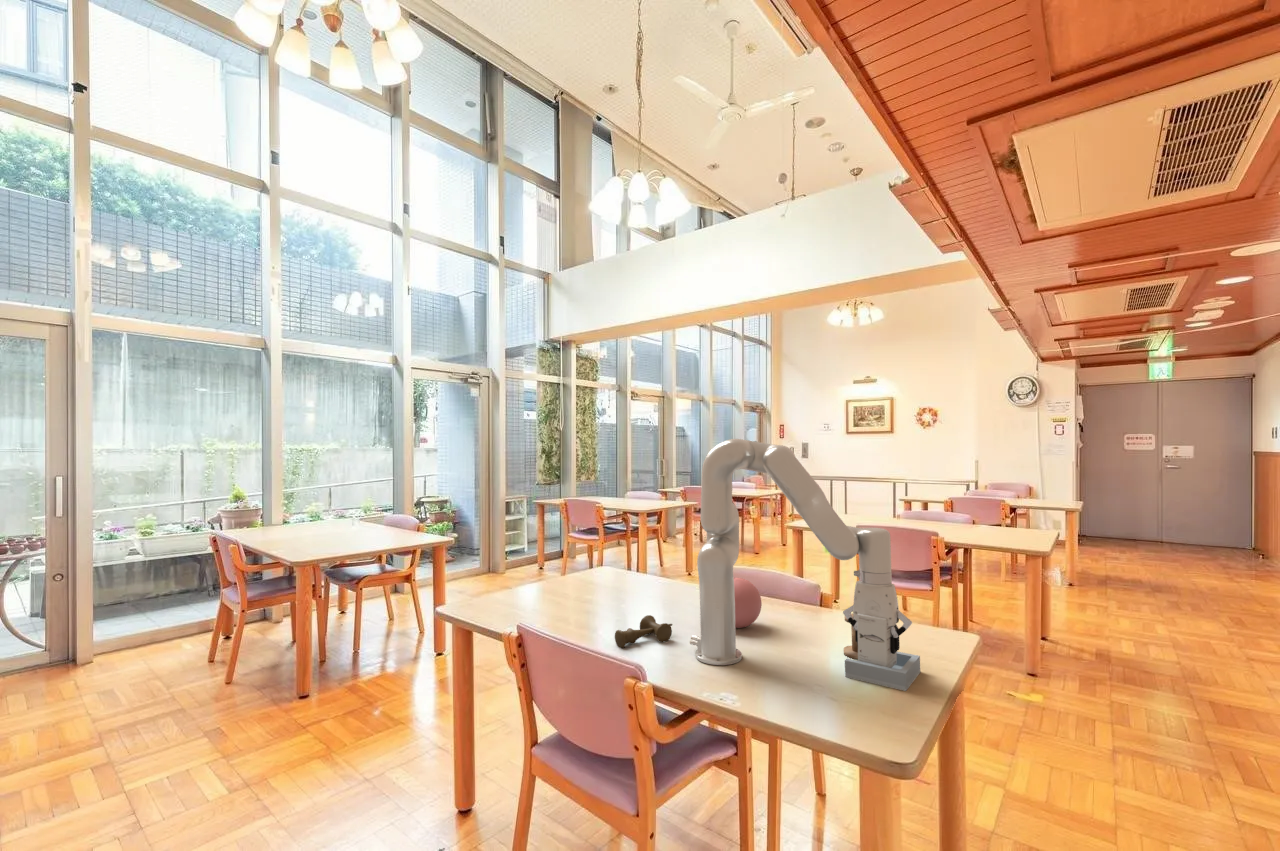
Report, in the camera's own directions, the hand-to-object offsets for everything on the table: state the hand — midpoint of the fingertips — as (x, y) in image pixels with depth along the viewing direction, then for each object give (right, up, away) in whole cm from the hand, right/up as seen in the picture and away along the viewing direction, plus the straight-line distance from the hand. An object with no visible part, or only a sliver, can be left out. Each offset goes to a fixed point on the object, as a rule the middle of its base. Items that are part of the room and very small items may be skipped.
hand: (877, 648), depth 143 cm
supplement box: (0, -4, 0) cm, 4 cm away
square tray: (+1, -6, -1) cm, 6 cm away
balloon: (-30, -9, +40) cm, 51 cm away
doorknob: (0, -7, +12) cm, 14 cm away
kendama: (-58, -9, +27) cm, 64 cm away
